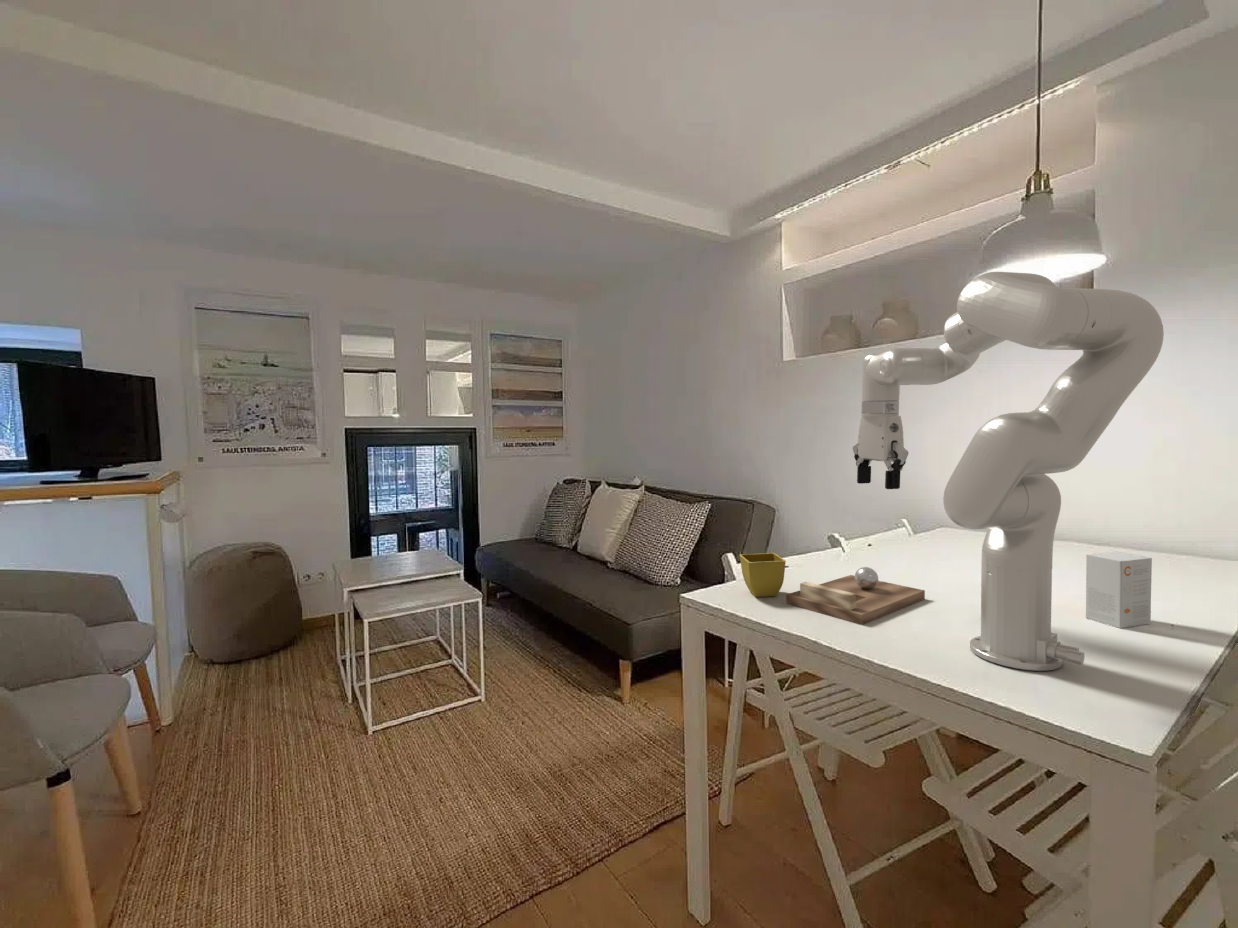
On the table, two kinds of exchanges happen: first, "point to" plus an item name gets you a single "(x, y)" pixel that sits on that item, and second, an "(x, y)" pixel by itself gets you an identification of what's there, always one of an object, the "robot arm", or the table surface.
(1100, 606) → the small box
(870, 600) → the walnut board
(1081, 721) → the table surface
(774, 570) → the flower pot
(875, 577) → the steel ball
